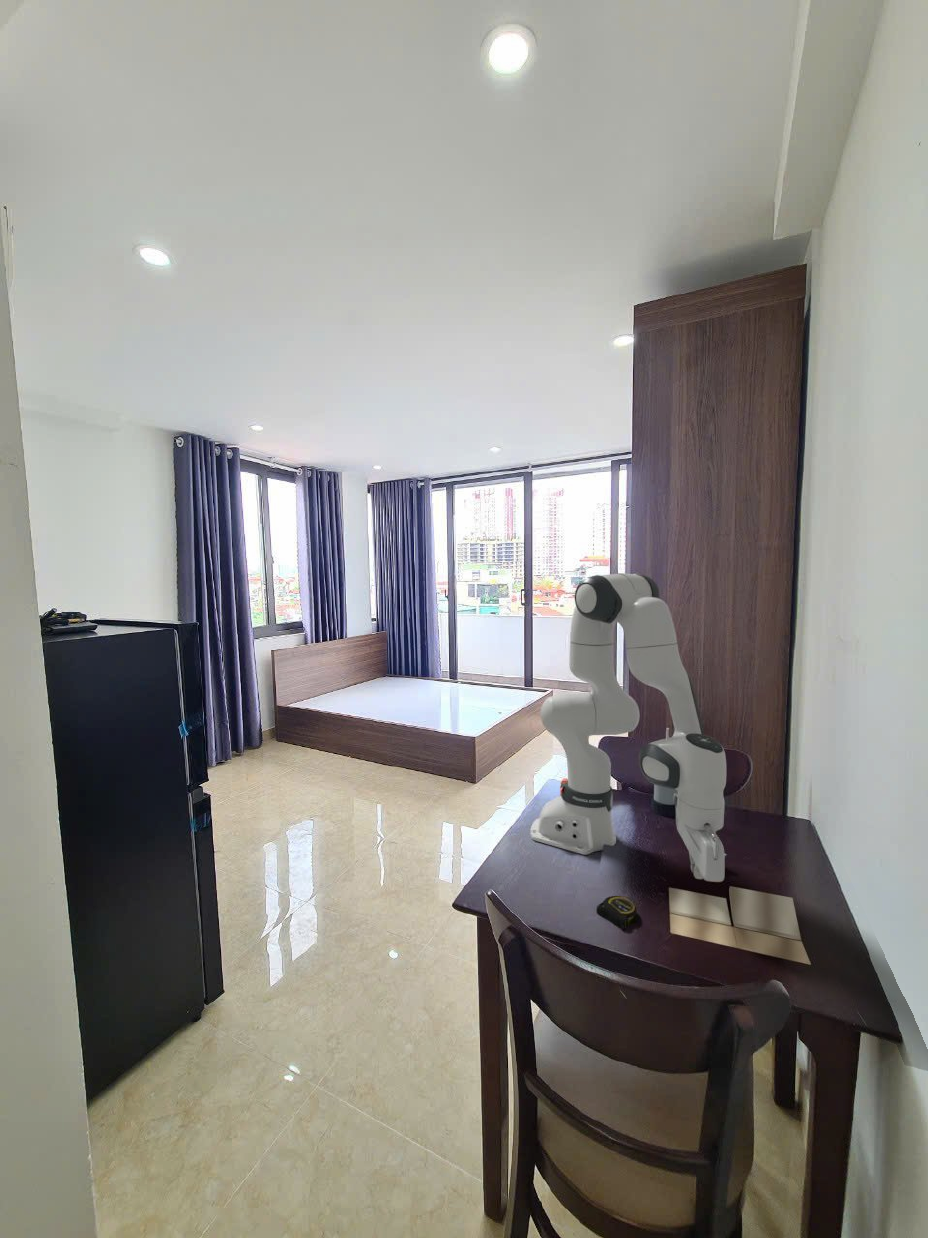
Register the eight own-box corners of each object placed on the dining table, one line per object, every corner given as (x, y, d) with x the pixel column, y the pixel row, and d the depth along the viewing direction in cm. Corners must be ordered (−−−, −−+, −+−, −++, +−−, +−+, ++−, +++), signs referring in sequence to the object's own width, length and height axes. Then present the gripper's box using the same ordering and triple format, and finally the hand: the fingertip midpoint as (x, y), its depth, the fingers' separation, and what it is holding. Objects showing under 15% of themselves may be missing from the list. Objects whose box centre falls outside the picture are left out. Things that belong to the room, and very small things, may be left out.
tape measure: (594, 920, 100) (594, 902, 100) (616, 907, 104) (616, 890, 104) (622, 939, 95) (622, 920, 95) (644, 925, 99) (644, 907, 98)
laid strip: (670, 940, 94) (670, 932, 94) (669, 920, 100) (669, 913, 100) (810, 973, 86) (811, 964, 86) (801, 949, 92) (801, 941, 92)
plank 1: (669, 919, 100) (669, 912, 100) (668, 893, 108) (668, 887, 107) (730, 932, 96) (731, 925, 96) (725, 905, 104) (726, 898, 103)
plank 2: (733, 930, 97) (734, 926, 96) (729, 890, 103) (729, 886, 102) (799, 944, 93) (801, 940, 92) (791, 902, 99) (792, 897, 98)
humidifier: (679, 806, 151) (681, 726, 150) (681, 818, 144) (683, 733, 142) (651, 803, 154) (652, 723, 153) (651, 814, 147) (652, 731, 145)
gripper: (735, 841, 93) (731, 909, 95) (700, 792, 114) (697, 849, 115) (700, 838, 94) (696, 906, 96) (671, 790, 115) (668, 847, 116)
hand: (697, 875), depth 106 cm, fingers closed
